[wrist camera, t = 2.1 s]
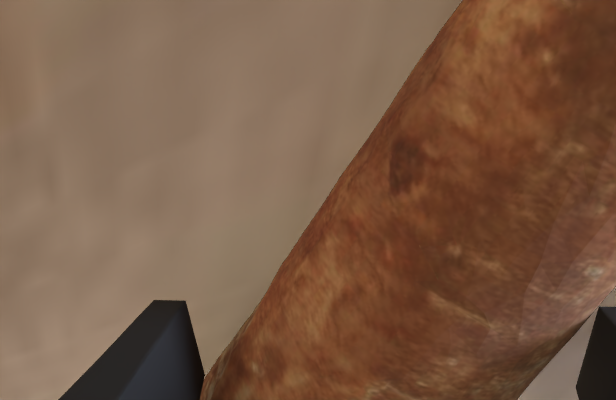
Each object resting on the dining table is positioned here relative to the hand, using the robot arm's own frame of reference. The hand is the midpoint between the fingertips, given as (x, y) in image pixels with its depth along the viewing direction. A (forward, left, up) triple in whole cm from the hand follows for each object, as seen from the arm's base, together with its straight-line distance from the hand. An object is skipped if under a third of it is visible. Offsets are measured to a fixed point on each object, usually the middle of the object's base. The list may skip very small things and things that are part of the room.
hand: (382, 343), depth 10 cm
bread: (0, 0, -4) cm, 4 cm away
